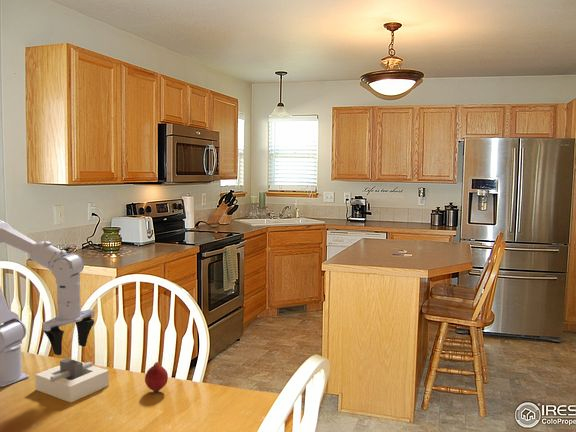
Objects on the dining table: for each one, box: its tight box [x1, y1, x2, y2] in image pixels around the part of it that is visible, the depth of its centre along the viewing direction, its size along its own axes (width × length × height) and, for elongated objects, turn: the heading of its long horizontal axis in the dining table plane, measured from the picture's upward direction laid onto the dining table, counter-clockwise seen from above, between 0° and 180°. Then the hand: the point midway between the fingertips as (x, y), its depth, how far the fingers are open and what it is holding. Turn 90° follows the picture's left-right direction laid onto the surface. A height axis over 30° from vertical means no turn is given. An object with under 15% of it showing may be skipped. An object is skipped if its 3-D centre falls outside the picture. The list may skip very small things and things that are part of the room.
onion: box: [144, 361, 169, 393], centre depth 139 cm, size 6×6×8 cm
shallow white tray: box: [34, 359, 110, 403], centre depth 141 cm, size 14×12×5 cm
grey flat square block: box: [59, 357, 84, 380], centre depth 141 cm, size 6×2×6 cm, turn 60°
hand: (70, 349), depth 141 cm, fingers open, 7 cm apart
